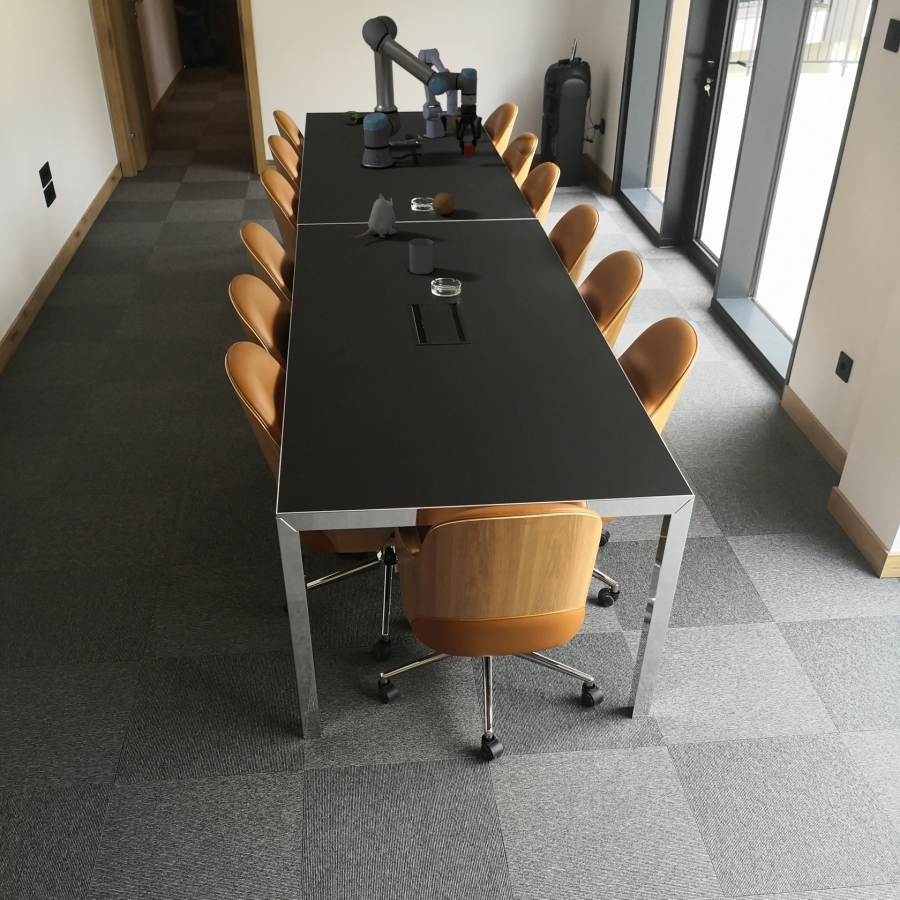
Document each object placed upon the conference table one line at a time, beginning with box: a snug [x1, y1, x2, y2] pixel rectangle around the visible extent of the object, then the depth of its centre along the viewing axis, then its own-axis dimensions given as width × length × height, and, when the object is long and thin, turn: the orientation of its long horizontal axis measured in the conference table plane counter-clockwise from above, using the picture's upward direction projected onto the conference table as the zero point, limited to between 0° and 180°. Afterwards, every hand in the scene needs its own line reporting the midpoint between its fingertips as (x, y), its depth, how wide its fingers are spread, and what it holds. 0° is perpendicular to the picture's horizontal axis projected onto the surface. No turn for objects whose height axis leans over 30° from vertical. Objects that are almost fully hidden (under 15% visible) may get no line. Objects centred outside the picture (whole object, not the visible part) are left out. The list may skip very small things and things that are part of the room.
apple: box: [451, 106, 470, 132], centre depth 487 cm, size 11×11×13 cm
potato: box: [431, 192, 456, 216], centre depth 360 cm, size 10×14×8 cm
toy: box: [350, 193, 398, 239], centre depth 333 cm, size 9×24×15 cm, turn 137°
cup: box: [408, 237, 434, 275], centre depth 305 cm, size 8×8×10 cm
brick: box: [463, 142, 475, 157], centre depth 423 cm, size 5×5×5 cm
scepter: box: [341, 110, 366, 126], centre depth 505 cm, size 6×13×30 cm
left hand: (467, 154), depth 424 cm, fingers closed on brick, 5 cm apart
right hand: (452, 130), depth 463 cm, fingers open, 7 cm apart
